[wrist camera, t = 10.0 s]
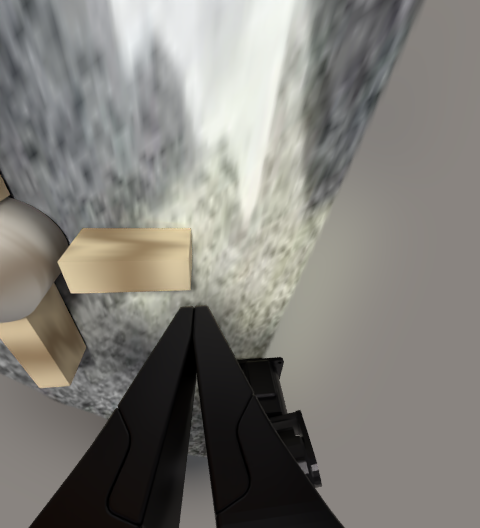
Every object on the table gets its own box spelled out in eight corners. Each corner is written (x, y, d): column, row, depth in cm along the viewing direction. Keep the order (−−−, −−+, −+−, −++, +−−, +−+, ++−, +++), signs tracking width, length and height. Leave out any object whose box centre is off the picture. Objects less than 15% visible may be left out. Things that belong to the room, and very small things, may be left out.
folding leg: (92, 257, 20) (71, 293, 17) (82, 228, 18) (57, 261, 15) (192, 256, 21) (190, 290, 18) (190, 228, 19) (188, 259, 16)
